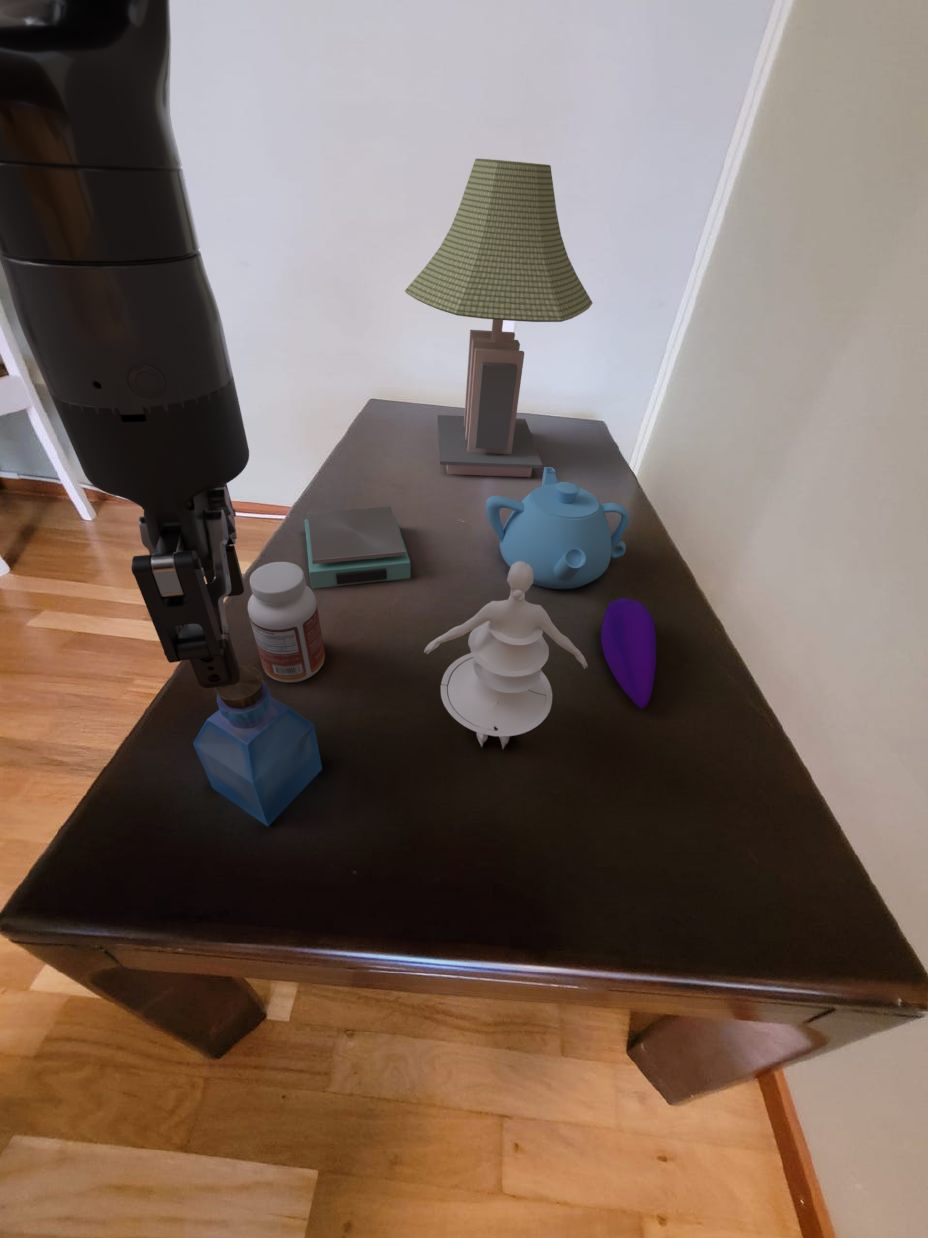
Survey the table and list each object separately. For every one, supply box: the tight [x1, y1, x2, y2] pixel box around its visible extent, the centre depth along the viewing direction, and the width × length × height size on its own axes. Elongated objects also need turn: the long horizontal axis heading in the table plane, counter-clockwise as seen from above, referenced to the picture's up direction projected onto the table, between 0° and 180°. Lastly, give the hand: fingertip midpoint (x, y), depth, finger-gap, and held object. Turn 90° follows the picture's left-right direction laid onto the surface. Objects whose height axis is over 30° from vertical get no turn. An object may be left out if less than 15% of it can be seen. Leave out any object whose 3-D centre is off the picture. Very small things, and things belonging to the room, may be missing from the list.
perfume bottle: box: [192, 665, 323, 827], centre depth 41 cm, size 6×6×12 cm
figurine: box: [423, 561, 588, 750], centre depth 44 cm, size 13×10×20 cm
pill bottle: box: [247, 561, 326, 683], centre depth 52 cm, size 6×6×11 cm
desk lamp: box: [404, 158, 593, 478], centre depth 83 cm, size 26×28×40 cm
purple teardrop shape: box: [600, 597, 657, 709], centre depth 57 cm, size 5×5×15 cm
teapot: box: [485, 466, 630, 590], centre depth 68 cm, size 15×17×11 cm
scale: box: [304, 512, 411, 590], centre depth 69 cm, size 12×12×3 cm
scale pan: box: [306, 506, 406, 564], centre depth 68 cm, size 11×11×1 cm
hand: (225, 634), depth 35 cm, fingers open, 8 cm apart
